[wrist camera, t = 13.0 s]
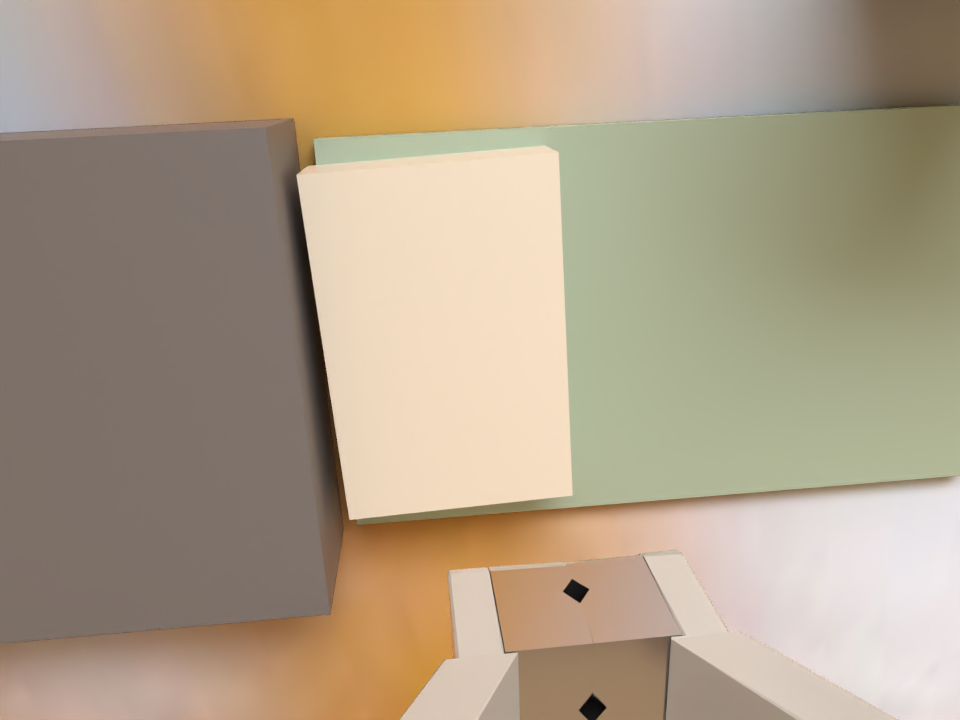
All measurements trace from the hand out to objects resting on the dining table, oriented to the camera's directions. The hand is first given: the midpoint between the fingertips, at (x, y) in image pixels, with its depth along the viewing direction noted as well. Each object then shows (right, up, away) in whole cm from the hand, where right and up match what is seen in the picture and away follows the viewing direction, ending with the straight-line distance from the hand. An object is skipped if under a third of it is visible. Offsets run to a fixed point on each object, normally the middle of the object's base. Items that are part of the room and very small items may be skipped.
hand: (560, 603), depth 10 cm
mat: (+4, +4, +12) cm, 14 cm away
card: (-2, +4, +11) cm, 12 cm away
